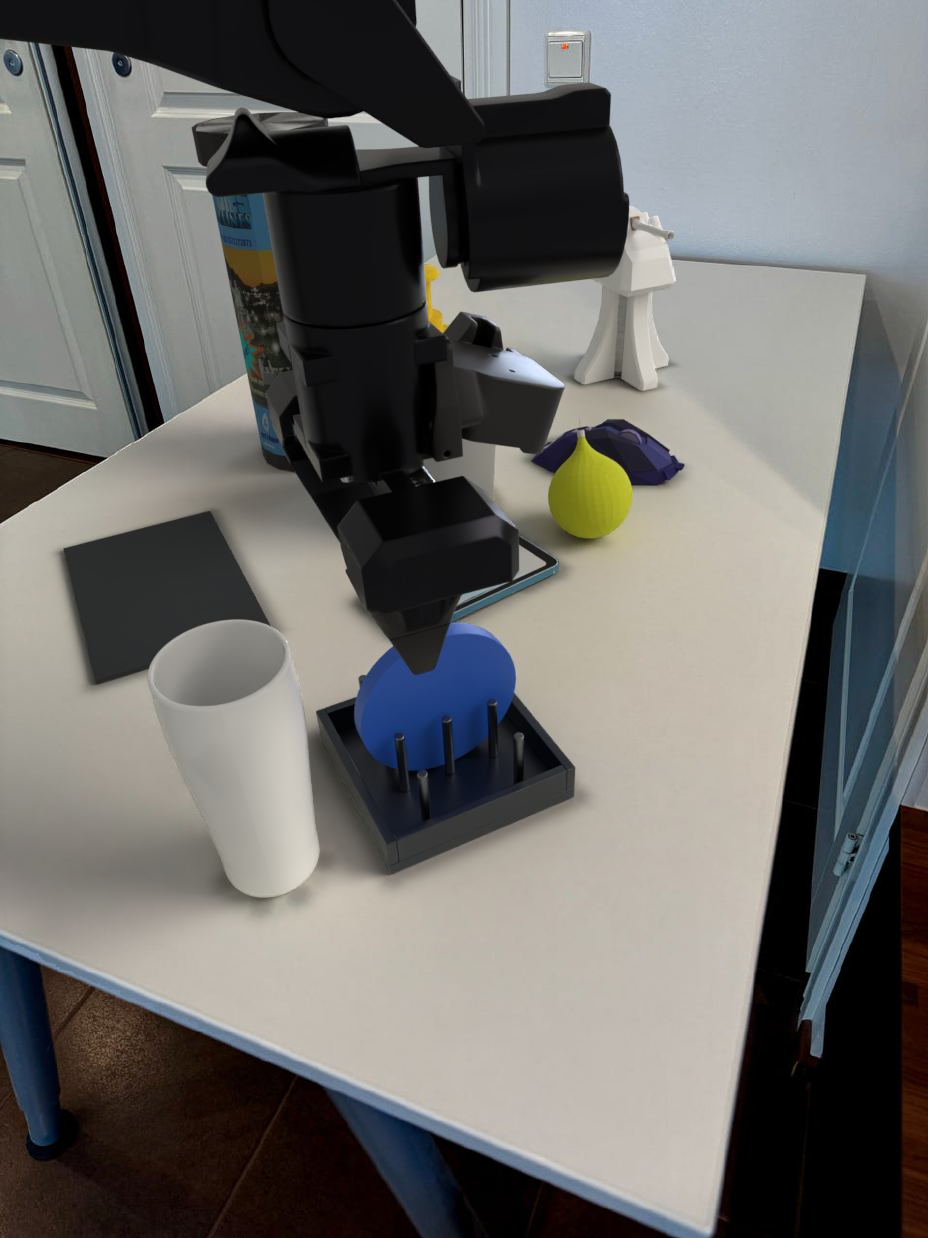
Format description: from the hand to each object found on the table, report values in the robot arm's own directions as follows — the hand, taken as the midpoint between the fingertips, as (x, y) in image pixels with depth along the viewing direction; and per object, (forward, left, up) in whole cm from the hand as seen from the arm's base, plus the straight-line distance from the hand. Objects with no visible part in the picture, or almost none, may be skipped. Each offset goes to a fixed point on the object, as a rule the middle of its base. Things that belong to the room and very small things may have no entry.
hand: (393, 616), depth 44 cm
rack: (+3, +2, -14) cm, 15 cm away
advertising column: (+10, +49, -15) cm, 52 cm away
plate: (+3, +2, -14) cm, 14 cm away
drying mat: (-9, +31, -14) cm, 35 cm away
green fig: (+26, +21, -15) cm, 36 cm away
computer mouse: (+35, +31, -15) cm, 49 cm away
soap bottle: (+16, +32, -14) cm, 38 cm away
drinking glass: (-9, 0, -15) cm, 17 cm away
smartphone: (+13, +19, -14) cm, 27 cm away
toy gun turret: (+49, +49, -15) cm, 71 cm away
